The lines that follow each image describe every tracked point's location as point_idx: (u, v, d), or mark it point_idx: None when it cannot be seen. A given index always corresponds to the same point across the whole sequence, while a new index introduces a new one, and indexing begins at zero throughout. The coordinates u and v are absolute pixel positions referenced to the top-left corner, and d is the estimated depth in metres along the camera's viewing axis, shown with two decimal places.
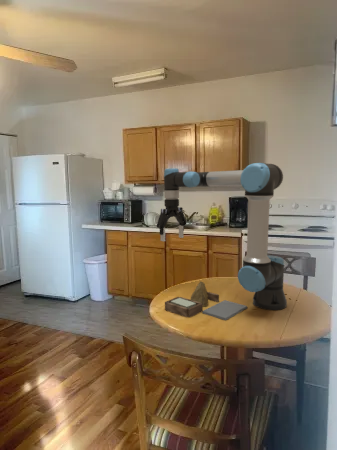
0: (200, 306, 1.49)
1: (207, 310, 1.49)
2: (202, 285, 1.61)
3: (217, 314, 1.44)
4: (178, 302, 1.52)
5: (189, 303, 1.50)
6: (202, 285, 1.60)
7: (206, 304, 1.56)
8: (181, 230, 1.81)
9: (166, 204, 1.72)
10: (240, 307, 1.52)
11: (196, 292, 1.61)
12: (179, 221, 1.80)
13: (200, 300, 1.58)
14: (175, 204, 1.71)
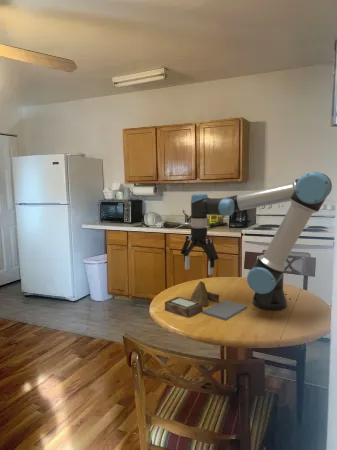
0: (200, 306, 1.49)
1: (207, 310, 1.49)
2: (202, 285, 1.61)
3: (217, 314, 1.44)
4: (178, 302, 1.52)
5: (189, 304, 1.50)
6: (202, 285, 1.60)
7: (206, 304, 1.56)
8: None
9: None
10: (240, 307, 1.52)
11: (196, 292, 1.61)
12: None
13: (200, 300, 1.58)
14: (192, 233, 1.55)
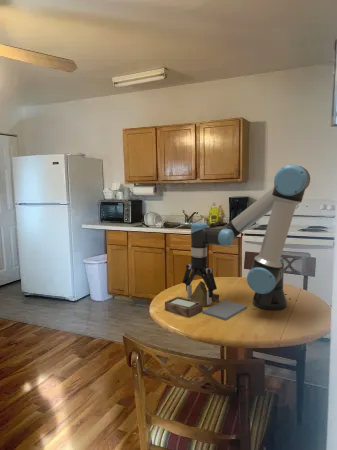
0: (200, 306, 1.49)
1: (207, 310, 1.49)
2: (202, 285, 1.60)
3: (217, 314, 1.44)
4: (178, 303, 1.51)
5: (189, 304, 1.50)
6: (203, 285, 1.60)
7: (206, 304, 1.56)
8: None
9: None
10: (240, 307, 1.52)
11: (196, 292, 1.61)
12: None
13: (200, 300, 1.58)
14: (192, 262, 1.56)
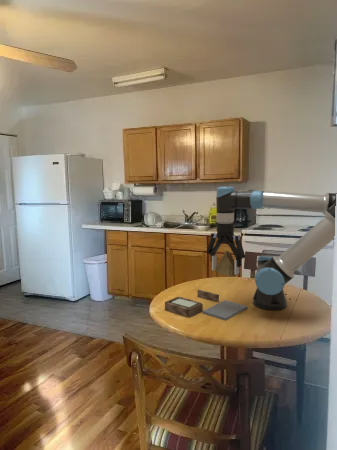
0: (200, 306, 1.49)
1: (207, 310, 1.49)
2: (229, 254, 1.49)
3: (217, 314, 1.44)
4: (179, 303, 1.51)
5: (190, 304, 1.50)
6: (229, 255, 1.49)
7: (234, 274, 1.45)
8: None
9: None
10: (240, 307, 1.52)
11: (222, 262, 1.49)
12: None
13: (227, 270, 1.47)
14: (218, 229, 1.45)
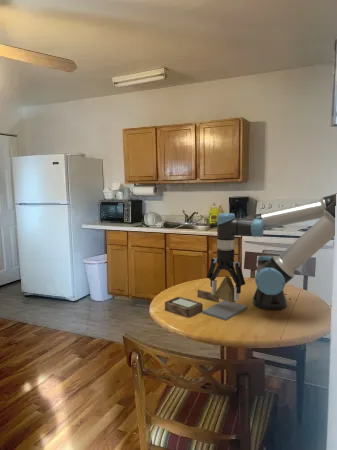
0: (200, 306, 1.49)
1: (207, 310, 1.49)
2: (228, 280, 1.50)
3: (217, 314, 1.44)
4: (179, 303, 1.51)
5: (190, 304, 1.49)
6: (229, 280, 1.50)
7: (233, 300, 1.46)
8: None
9: None
10: (240, 307, 1.52)
11: (222, 287, 1.50)
12: None
13: (227, 296, 1.48)
14: (219, 255, 1.46)
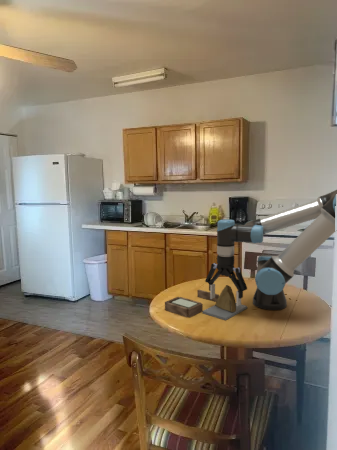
0: (200, 306, 1.49)
1: (207, 310, 1.49)
2: (229, 289, 1.51)
3: (217, 314, 1.44)
4: (179, 303, 1.51)
5: (190, 304, 1.49)
6: (229, 290, 1.51)
7: (234, 309, 1.47)
8: None
9: None
10: (240, 307, 1.52)
11: (222, 296, 1.51)
12: None
13: (227, 305, 1.49)
14: (219, 262, 1.46)
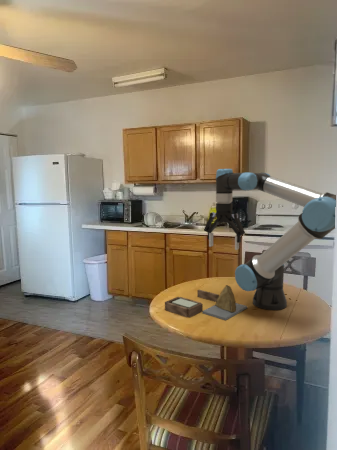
0: (200, 306, 1.49)
1: (207, 310, 1.49)
2: (229, 289, 1.51)
3: (217, 314, 1.44)
4: (179, 303, 1.51)
5: (190, 304, 1.49)
6: (229, 290, 1.51)
7: (234, 309, 1.47)
8: None
9: None
10: (240, 307, 1.52)
11: (222, 297, 1.51)
12: None
13: (227, 305, 1.49)
14: (218, 209, 1.54)
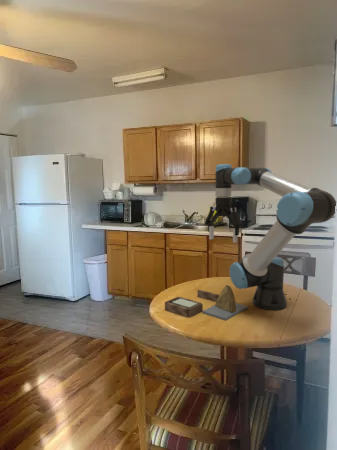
0: (200, 306, 1.49)
1: (207, 310, 1.49)
2: (229, 289, 1.51)
3: (217, 314, 1.44)
4: (180, 303, 1.51)
5: (190, 304, 1.49)
6: (229, 290, 1.51)
7: (234, 309, 1.47)
8: None
9: None
10: (240, 307, 1.52)
11: (222, 297, 1.51)
12: None
13: (227, 305, 1.49)
14: (217, 203, 1.60)
